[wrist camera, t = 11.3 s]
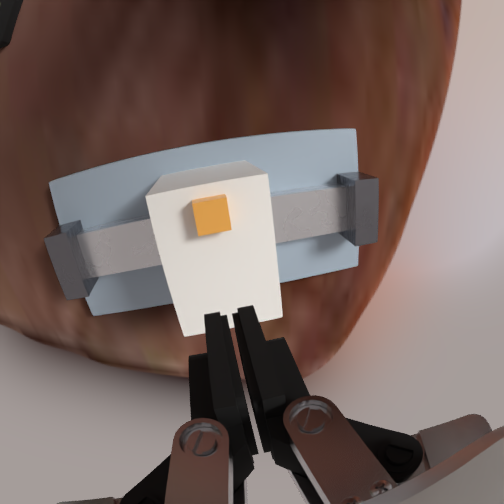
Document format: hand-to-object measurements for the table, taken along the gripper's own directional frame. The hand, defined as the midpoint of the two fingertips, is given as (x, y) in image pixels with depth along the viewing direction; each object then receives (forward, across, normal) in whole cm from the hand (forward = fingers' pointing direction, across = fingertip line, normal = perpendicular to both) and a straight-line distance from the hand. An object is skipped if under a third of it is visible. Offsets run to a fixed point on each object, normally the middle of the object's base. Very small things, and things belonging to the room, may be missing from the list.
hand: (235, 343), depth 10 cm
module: (+13, 0, 0) cm, 13 cm away
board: (+15, 0, 0) cm, 15 cm away
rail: (+13, 0, 0) cm, 13 cm away
